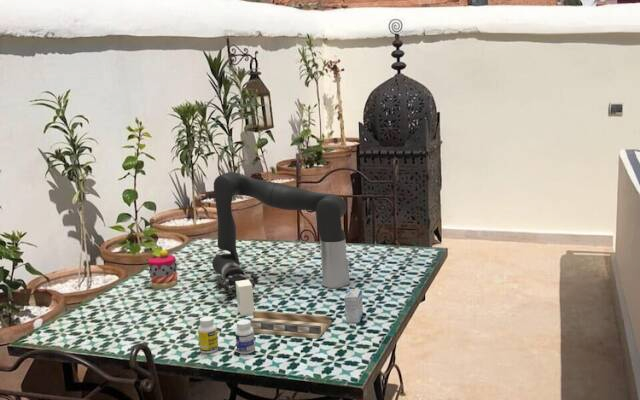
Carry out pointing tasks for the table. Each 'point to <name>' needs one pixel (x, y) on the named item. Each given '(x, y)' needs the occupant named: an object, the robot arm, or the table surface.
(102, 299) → the table surface
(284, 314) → the shelf ledge
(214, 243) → the table surface
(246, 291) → the carton
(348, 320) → the medicine box
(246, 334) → the pill bottle
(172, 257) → the cake
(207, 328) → the supplement bottle
